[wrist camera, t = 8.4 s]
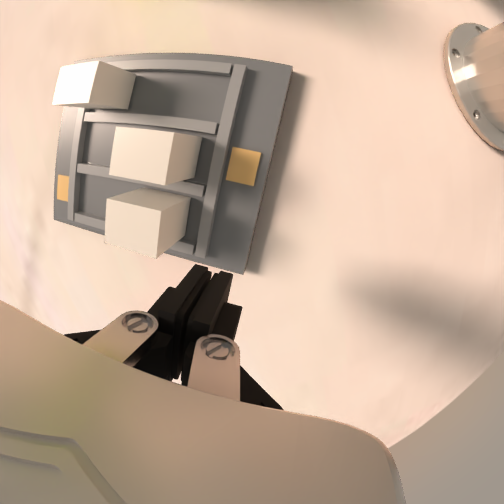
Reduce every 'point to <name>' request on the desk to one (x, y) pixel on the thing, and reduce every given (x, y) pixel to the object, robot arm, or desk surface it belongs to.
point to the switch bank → (185, 122)
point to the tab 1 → (94, 86)
